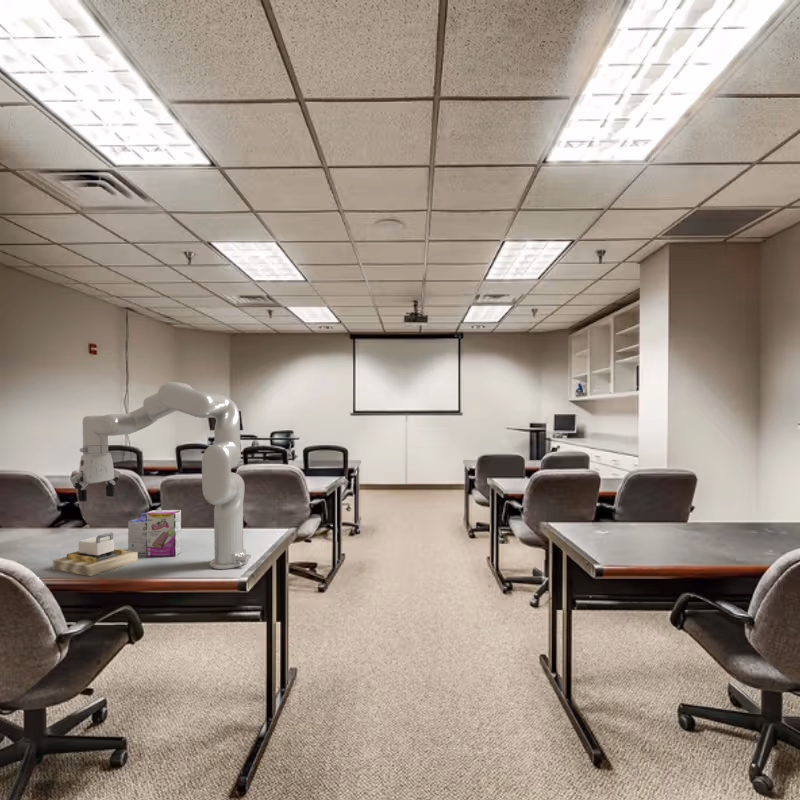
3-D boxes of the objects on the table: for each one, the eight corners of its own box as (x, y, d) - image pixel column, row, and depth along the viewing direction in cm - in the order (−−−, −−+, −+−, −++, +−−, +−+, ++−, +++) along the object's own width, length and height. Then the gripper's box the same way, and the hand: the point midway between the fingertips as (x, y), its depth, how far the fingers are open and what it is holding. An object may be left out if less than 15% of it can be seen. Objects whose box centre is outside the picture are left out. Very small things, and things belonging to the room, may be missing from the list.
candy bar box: (145, 557, 176) (145, 512, 176) (152, 553, 181) (152, 510, 181) (175, 556, 176) (175, 512, 176) (181, 552, 181) (181, 509, 181)
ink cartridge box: (160, 549, 187) (160, 512, 187) (151, 553, 181) (151, 515, 181) (136, 548, 188) (136, 511, 188) (127, 553, 182) (127, 515, 183)
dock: (137, 560, 172) (137, 548, 172) (90, 576, 157) (90, 562, 157) (101, 555, 180) (101, 543, 180) (53, 569, 165) (53, 555, 165)
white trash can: (114, 554, 169) (113, 532, 169) (97, 559, 164) (97, 536, 164) (95, 551, 173) (95, 529, 173) (78, 556, 168) (78, 533, 168)
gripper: (77, 452, 160) (78, 503, 160) (125, 448, 176) (126, 494, 175) (63, 452, 163) (64, 502, 163) (112, 448, 179) (113, 494, 178)
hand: (96, 498), depth 169 cm, fingers open, 9 cm apart
